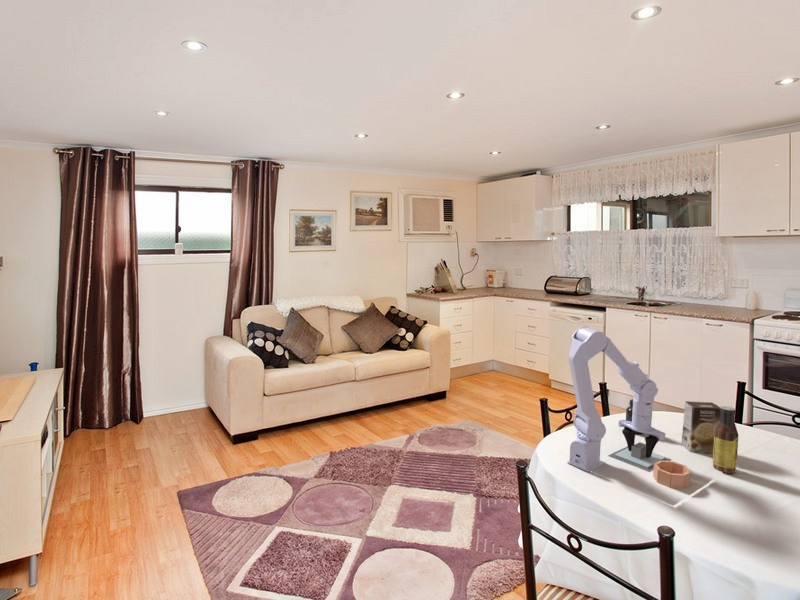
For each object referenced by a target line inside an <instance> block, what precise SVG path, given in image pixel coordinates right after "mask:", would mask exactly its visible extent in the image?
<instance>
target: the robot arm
mask: <svg viewBox="0 0 800 600" xmlns="http://www.w3.org/2000/svg"><path fill="white" fill-rule="evenodd" d="M571 339H572V340H571V341H572V342H571V345H570V348H569V349H570V350H569V352H568V362H569V369H570V374H571V380H572V386H573V389H574V390H573V391H574V396H575V400H576V401H575V402H576V406H577V408H576V409H575V410H574V411H573V412H574V417H573V426H574V427H575V428H576V437H575V439H574V440H573V441H572V442H571V443H570V445H569V460H567V461H566V463H567V464H569V465H571V466H574V467H577V468H578V469H581V470H583V471H585V472H589V473H590V472H591V471H592V470H595V469H596V468H598V467H600V466H602V465H604V464H606V462H605V461H603V460H602V459H601V443H602V439H603V438H604V437H605V435H606V433H607V428H606V426H605V424H604V423H603V421H602V417H601V416H600V414H599V412H598V410H597V408H596V402H595V398H594V391H593V386H592V380H591V374H590V369H589V364H588V363H589V360H590V359H592V358H594V357H595V356H597V355H598V354H599V353H601V352H602V353H604V354H605V355H606V356H607V357H608V358H609V359H610V360H611V361H612V362H613V363H614V364H615V365H616V366H617V367H618V368H617V371H618V374H619V375H620V376H621V377H622V378H623V379H624V380H625V381H626V382H627V384H628V385H629V388H630V390H632V391H633V396H632V397H633V398H632V399H633V412H632V422H631V421H626V419H620V420H618V427H620V428H623V429H622V430H621V433H622V434H623V436H624V438H625V441H626V445H627V446H628V450H629V451H631V449H632V446H633V445H635V444H636V442H635V441H636V431H637V432H641V433H644V434H643V435H647V436H645V437H644V441H645V444H646V457H647V458H649V457H651V455H652V453H654V449H655V447H656V445H657V444H658V442H659V440H660V441H664V440H665V439H666V433H665V432H662V431H660V430H659V429H656V428H654V427H653V426H652V423H653V421H652V420H653V404H654V401H655V397H656V395H657V394H658V393H659V388H658V387H657V384H656V382H655V381H653V380H652V379H650V378H649V377H648V376H649V375H648V374H647V373H646V372H644V371H643V370H642V369H641V368H640V364H639V363H638V362H636V361H633V360H627V358H626V356H624V355H623V353H622V352H621V351H620V350H619V348H618V347H617V346H616V344H615V343H614V342H613V341H612V339H611V338H609V337H608V336H607V335H606V334H605V333H604V332H602V331H600V330H599V331H598V330H595V329H592V328H591V327H588V326H586V325H585V326H584V325H583V326H581V327H578V328H577V329H576V330H575V331H574V333H573V334H572V335H571Z"/></svg>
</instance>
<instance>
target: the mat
mask: <svg viewBox="0 0 800 600" xmlns="http://www.w3.org/2000/svg"><path fill="white" fill-rule="evenodd" d="M627 448H628V445H627V446H625V447H623V448H621V449H618V450H617V451H614V452H613V453H609V454H608V455H607V457H609V458H613V459H615V460H617V461H619V462H622V463H625V464H628V465H630V466H633V467H635V468H638V469H641V470H643V471H646V472H649V473H650V472H653V469H654V465H653V466H651V467H649V468H648V469H647V468H644V467H642V466H639V465H636V464H634V463H631V462H628V461H626V460H623V459H621V458H618V457H615V456H614V455H615V454H616V453H618V452H621V451H623V450H625V449H627ZM653 453H654V454H657V455H659V454H658V453H655V452H653ZM661 456H662V457H665V459H664V460H662V461H673V459H672V458H668V457H666V456H663V455H661Z"/></svg>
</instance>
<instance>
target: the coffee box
mask: <svg viewBox="0 0 800 600" xmlns="http://www.w3.org/2000/svg"><path fill="white" fill-rule="evenodd" d="M720 407H721V406H719V405H717V404H715V403H714V402H708V401H706V402H705V401H687V400H686V401H685V403H684V412H683V413H684V414H683V423H682V434H681V435H682V436H681V443H680V446H682V447H684V448H685V450H687V451H688V452H690V453H703V454H707V455H709V454H710V455H713V450H714V436H715V428H716V426H717V424H718V423H719V422H720V414H721V413H720Z"/></svg>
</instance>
